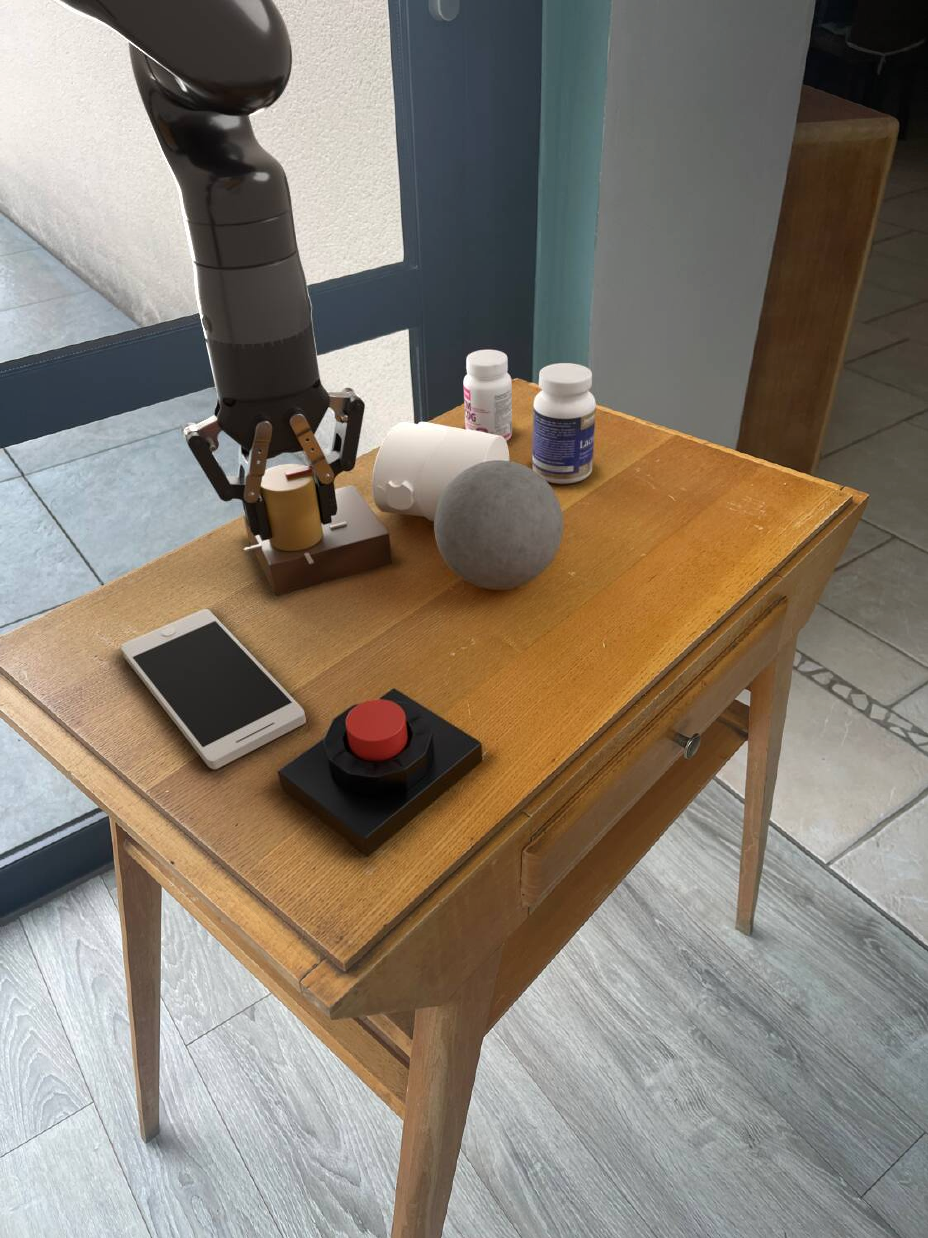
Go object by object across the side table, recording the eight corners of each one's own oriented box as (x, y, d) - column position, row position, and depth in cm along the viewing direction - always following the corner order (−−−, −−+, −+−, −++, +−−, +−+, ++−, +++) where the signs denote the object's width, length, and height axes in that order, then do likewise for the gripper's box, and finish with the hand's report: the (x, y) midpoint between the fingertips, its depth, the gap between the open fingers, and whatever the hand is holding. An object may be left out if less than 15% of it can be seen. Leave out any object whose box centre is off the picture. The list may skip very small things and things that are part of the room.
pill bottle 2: (591, 487, 86) (597, 385, 80) (530, 485, 87) (530, 384, 81) (592, 457, 91) (598, 359, 85) (534, 456, 92) (535, 358, 86)
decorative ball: (563, 615, 71) (567, 502, 65) (433, 615, 72) (425, 503, 66) (559, 543, 79) (562, 436, 73) (442, 544, 80) (435, 438, 74)
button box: (367, 857, 54) (361, 818, 52) (281, 789, 59) (272, 750, 56) (482, 761, 60) (481, 722, 58) (396, 705, 64) (391, 667, 62)
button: (376, 770, 55) (373, 750, 54) (336, 742, 57) (333, 721, 56) (419, 737, 57) (417, 716, 56) (379, 711, 59) (376, 690, 58)
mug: (476, 550, 79) (473, 466, 74) (376, 532, 82) (367, 450, 77) (521, 482, 88) (521, 403, 83) (429, 468, 91) (424, 391, 86)
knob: (277, 557, 74) (264, 493, 70) (262, 530, 77) (250, 468, 74) (330, 542, 75) (320, 479, 72) (314, 517, 78) (304, 455, 75)
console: (264, 609, 74) (257, 576, 72) (234, 545, 81) (227, 514, 79) (398, 571, 77) (394, 539, 75) (357, 513, 84) (353, 482, 83)
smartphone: (209, 615, 73) (206, 606, 72) (309, 722, 63) (307, 711, 62) (121, 654, 70) (117, 644, 69) (212, 772, 60) (209, 762, 59)
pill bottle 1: (455, 437, 95) (452, 358, 90) (486, 421, 98) (484, 343, 93) (490, 451, 93) (489, 370, 88) (521, 434, 95) (521, 354, 90)
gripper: (338, 286, 70) (362, 486, 80) (144, 321, 66) (196, 527, 76) (371, 317, 65) (393, 527, 75) (163, 357, 60) (216, 574, 71)
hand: (293, 526), depth 76 cm, fingers closed on knob, 4 cm apart
